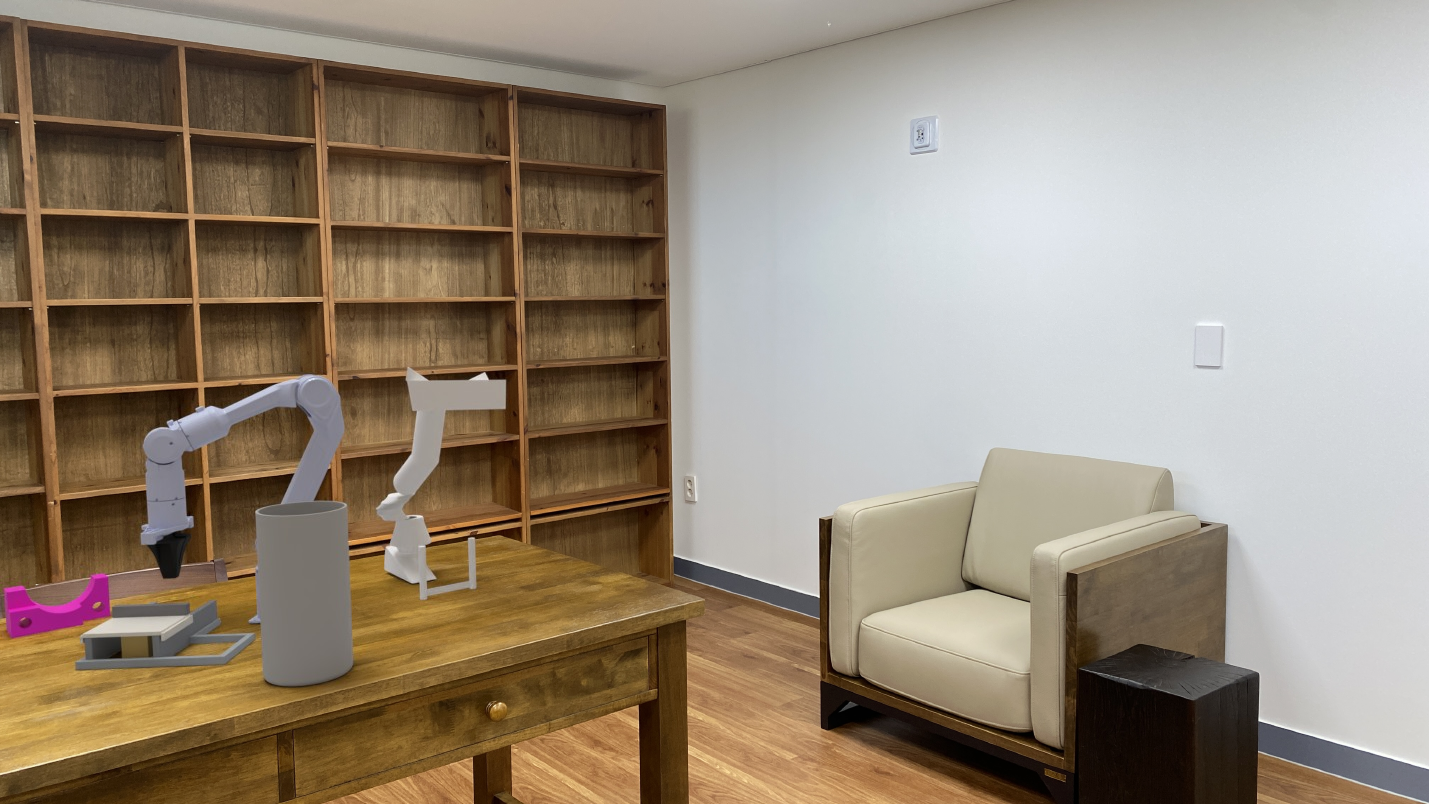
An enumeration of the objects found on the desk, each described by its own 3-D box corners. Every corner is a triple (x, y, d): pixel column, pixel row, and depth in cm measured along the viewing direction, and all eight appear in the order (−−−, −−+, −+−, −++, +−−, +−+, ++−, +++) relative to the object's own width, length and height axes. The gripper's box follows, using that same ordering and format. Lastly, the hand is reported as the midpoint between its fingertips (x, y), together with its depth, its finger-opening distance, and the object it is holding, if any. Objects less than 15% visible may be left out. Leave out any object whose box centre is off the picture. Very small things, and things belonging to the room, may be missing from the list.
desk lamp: (338, 584, 198) (329, 363, 194) (423, 569, 210) (415, 360, 207) (419, 624, 170) (411, 366, 167) (512, 603, 182) (505, 363, 179)
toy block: (11, 638, 165) (8, 595, 165) (6, 630, 170) (3, 588, 169) (113, 620, 175) (111, 579, 175) (106, 613, 180) (103, 573, 179)
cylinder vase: (367, 672, 146) (361, 507, 144) (282, 695, 137) (274, 519, 135) (332, 653, 155) (326, 498, 153) (250, 673, 146) (242, 508, 144)
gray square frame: (276, 623, 172) (275, 598, 171) (224, 664, 150) (223, 635, 150) (146, 627, 170) (145, 602, 170) (75, 669, 149) (73, 640, 148)
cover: (193, 622, 160) (192, 602, 160) (164, 640, 150) (162, 619, 150) (114, 624, 159) (113, 605, 159) (80, 643, 149) (78, 622, 149)
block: (161, 651, 157) (159, 627, 157) (148, 659, 153) (147, 634, 153) (135, 652, 157) (134, 628, 157) (122, 660, 153) (120, 635, 153)
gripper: (162, 492, 171) (166, 568, 172) (119, 507, 157) (124, 589, 158) (204, 491, 172) (208, 566, 173) (164, 505, 158) (169, 588, 159)
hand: (171, 577), depth 165 cm, fingers closed
